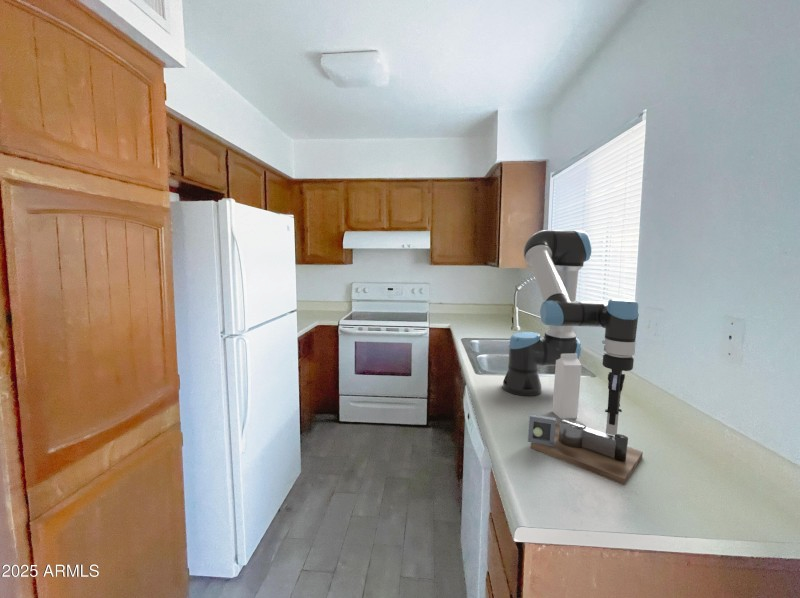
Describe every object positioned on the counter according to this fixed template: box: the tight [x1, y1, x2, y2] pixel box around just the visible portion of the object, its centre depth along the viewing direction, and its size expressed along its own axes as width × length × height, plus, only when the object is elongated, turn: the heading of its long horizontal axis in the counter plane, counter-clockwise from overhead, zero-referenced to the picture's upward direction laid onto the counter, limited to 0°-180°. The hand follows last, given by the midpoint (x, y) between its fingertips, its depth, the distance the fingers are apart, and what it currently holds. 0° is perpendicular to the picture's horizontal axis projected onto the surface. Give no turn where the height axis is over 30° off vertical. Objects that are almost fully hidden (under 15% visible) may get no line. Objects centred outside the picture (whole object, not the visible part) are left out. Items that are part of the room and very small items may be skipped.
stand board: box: [530, 422, 644, 486], centre depth 107 cm, size 18×24×2 cm
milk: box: [551, 354, 582, 420], centre depth 130 cm, size 6×6×22 cm
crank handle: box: [558, 418, 629, 461], centre depth 106 cm, size 18×7×6 cm, turn 45°
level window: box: [527, 413, 557, 447], centre depth 108 cm, size 3×7×8 cm, turn 68°
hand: (611, 433), depth 109 cm, fingers closed
